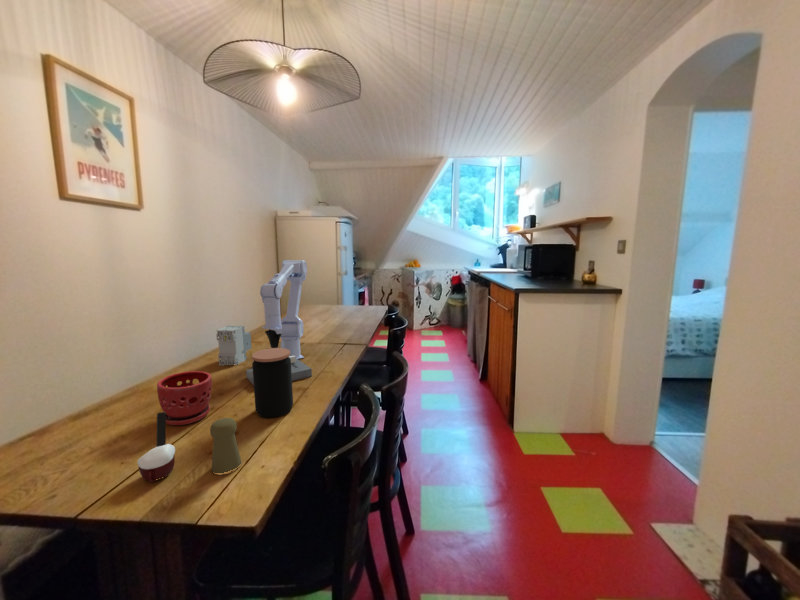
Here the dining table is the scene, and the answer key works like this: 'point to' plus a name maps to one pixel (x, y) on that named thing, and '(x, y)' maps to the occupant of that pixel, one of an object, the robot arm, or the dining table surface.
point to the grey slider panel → (297, 370)
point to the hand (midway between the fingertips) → (274, 348)
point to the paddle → (293, 359)
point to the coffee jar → (272, 382)
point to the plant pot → (185, 397)
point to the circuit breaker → (233, 344)
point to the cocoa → (158, 455)
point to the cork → (224, 446)
